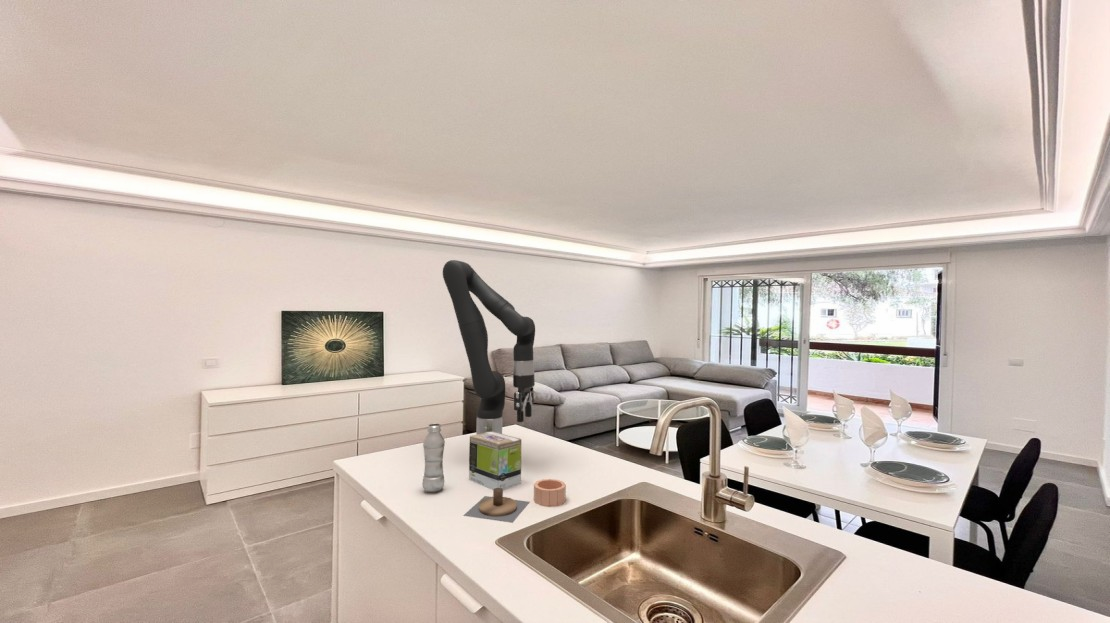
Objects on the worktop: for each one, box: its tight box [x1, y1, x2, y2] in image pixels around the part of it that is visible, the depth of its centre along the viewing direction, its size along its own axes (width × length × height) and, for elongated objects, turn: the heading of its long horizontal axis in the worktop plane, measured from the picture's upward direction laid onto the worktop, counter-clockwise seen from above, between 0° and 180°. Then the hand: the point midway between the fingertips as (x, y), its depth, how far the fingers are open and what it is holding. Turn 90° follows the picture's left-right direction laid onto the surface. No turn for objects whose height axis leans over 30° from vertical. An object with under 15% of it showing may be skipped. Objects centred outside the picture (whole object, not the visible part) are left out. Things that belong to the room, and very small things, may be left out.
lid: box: [479, 488, 517, 516], centre depth 129 cm, size 10×10×5 cm
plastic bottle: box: [421, 423, 446, 493], centre depth 142 cm, size 6×7×20 cm
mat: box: [462, 495, 531, 524], centre depth 129 cm, size 14×14×1 cm
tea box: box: [468, 431, 522, 491], centre depth 150 cm, size 15×10×15 cm
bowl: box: [533, 478, 567, 507], centre depth 135 cm, size 9×9×5 cm
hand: (524, 419), depth 164 cm, fingers open, 8 cm apart
